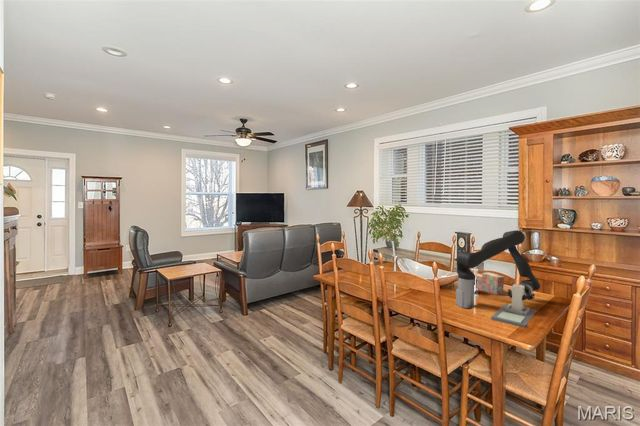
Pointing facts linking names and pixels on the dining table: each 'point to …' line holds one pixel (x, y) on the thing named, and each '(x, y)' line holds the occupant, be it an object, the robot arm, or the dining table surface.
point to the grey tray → (513, 315)
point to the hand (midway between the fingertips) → (516, 297)
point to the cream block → (517, 297)
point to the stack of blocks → (490, 283)
